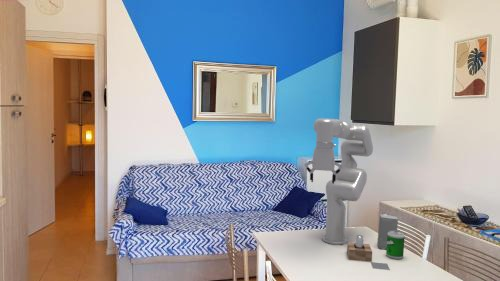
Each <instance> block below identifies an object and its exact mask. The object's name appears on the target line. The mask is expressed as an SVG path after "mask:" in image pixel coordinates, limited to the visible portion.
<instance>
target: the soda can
mask: <svg viewBox="0 0 500 281" xmlns="http://www.w3.org/2000/svg"><path fill="white" fill-rule="evenodd" d="M405 236H406V235H405V234H404V233H403V231H400V230H397V231H396V230H391V231H389V232H388V233H387V248H386V249H385V254H386V256H387V257H388V258H390V259H394V260H400V259H403V258H404V252H405V251H404V250H405V238H406V237H405Z"/></svg>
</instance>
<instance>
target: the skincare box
mask: <svg viewBox="0 0 500 281" xmlns="http://www.w3.org/2000/svg"><path fill="white" fill-rule="evenodd" d="M398 224H399V219H398V217H397V216H396V215H389V214H381V213H380V214H379V221H378V232H377V243H376V245H377V247H378V249H380V250H386V248H387V233H388V232H389V231H391V230H396V231H398Z"/></svg>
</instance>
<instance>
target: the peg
mask: <svg viewBox="0 0 500 281" xmlns="http://www.w3.org/2000/svg"><path fill="white" fill-rule="evenodd" d="M355 243H356V248H359V249H362V248H363V244H364V236H363V235H360V234H357V235H356V237H355Z"/></svg>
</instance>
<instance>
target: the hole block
mask: <svg viewBox="0 0 500 281" xmlns="http://www.w3.org/2000/svg"><path fill="white" fill-rule="evenodd" d="M346 244H347V245H346V254H347V257H348V260H349V261H357V262H369V263H371V262H373V249H372V247H371V244H370V243H363V248H362V249H359V248H356V242H348V241H347V243H346Z"/></svg>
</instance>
